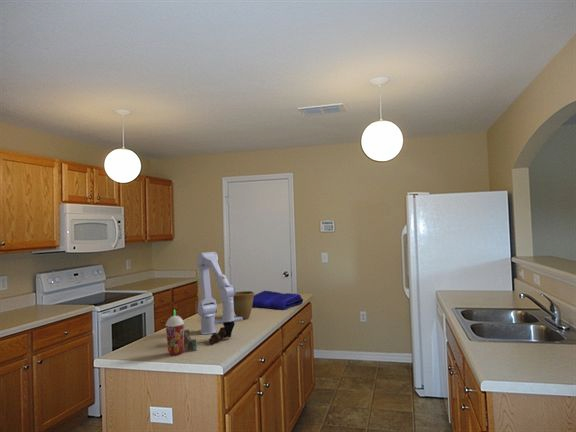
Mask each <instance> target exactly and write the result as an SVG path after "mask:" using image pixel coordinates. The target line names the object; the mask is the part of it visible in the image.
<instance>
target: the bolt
mask: <svg viewBox="0 0 576 432" xmlns="http://www.w3.org/2000/svg"><path fill="white" fill-rule="evenodd" d="M223 338H228V337H227V332H226V330H225V327H224V326H222V327H220V328H219V331H218V332H217V333H211V336H210V338H209V339H208V343H209V344H210V345H214V344H219V342H220V341H221V339H223Z"/></svg>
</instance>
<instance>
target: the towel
mask: <svg viewBox="0 0 576 432" xmlns="http://www.w3.org/2000/svg"><path fill="white" fill-rule="evenodd" d="M303 302H304V299H303V298H302V295H301V294H300V293H282V292H277V291H270V290H263V291H261V292H258V293H257V294H254V297H253V304H252V308H260V309H272V310H281V311H283V310H285V311H286V310H289V309H290V308H291V307H294V306H299V305H302V304H303Z"/></svg>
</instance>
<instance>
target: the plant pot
mask: <svg viewBox="0 0 576 432" xmlns="http://www.w3.org/2000/svg"><path fill="white" fill-rule="evenodd" d="M254 295H255V293H254V291H251V290H250V291H249V290H244V291H243V290H242V291H235V296H234V297H233V303H234V316H235V317H243V321H244V320H249V319H250V316H251V314H252V308H253V307H252V304H253V297H254Z"/></svg>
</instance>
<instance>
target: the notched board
mask: <svg viewBox="0 0 576 432" xmlns="http://www.w3.org/2000/svg"><path fill="white" fill-rule="evenodd" d="M184 344H185V345H186V347H187V350H188V351H189V352H194V351H197V339H196V338H194V339H193V338H191V336H190V329H184Z"/></svg>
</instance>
